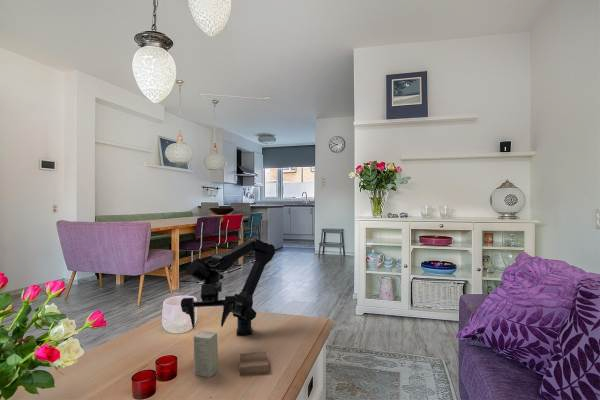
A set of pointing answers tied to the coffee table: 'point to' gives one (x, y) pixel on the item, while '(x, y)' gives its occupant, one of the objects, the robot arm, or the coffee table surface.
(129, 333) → the coffee table surface
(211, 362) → the skincare box
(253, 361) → the walnut plinth
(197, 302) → the robot arm
